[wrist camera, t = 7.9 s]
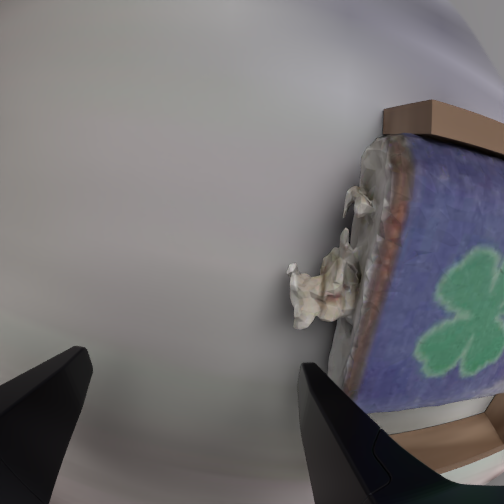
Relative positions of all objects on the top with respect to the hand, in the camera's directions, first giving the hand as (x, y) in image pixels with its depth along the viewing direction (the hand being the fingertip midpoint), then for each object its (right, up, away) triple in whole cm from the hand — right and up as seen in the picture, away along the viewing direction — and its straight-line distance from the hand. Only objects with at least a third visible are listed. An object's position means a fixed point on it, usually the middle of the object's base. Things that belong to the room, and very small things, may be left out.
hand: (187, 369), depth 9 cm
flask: (+13, +3, +2) cm, 14 cm away
